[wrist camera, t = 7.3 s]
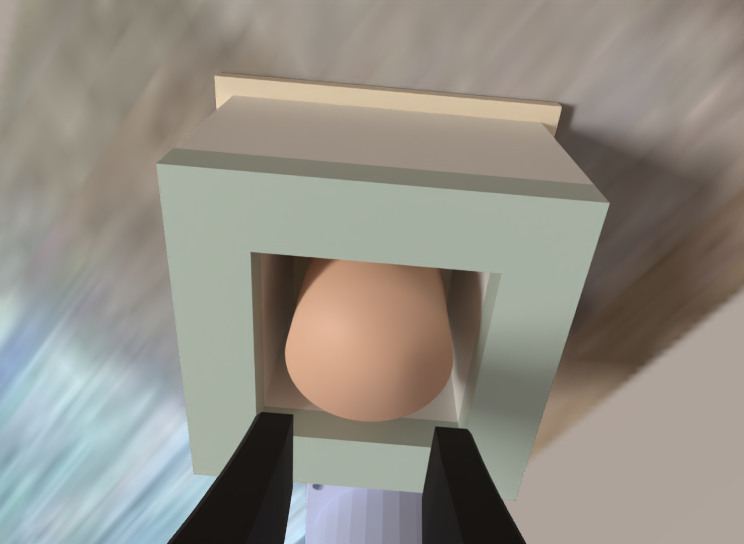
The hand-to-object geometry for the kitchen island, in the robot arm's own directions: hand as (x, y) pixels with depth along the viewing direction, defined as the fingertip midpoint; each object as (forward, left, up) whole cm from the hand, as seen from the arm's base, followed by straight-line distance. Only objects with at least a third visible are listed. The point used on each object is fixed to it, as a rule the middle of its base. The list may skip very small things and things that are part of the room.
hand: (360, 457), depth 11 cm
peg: (0, 0, -9) cm, 9 cm away
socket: (0, 0, -9) cm, 9 cm away
